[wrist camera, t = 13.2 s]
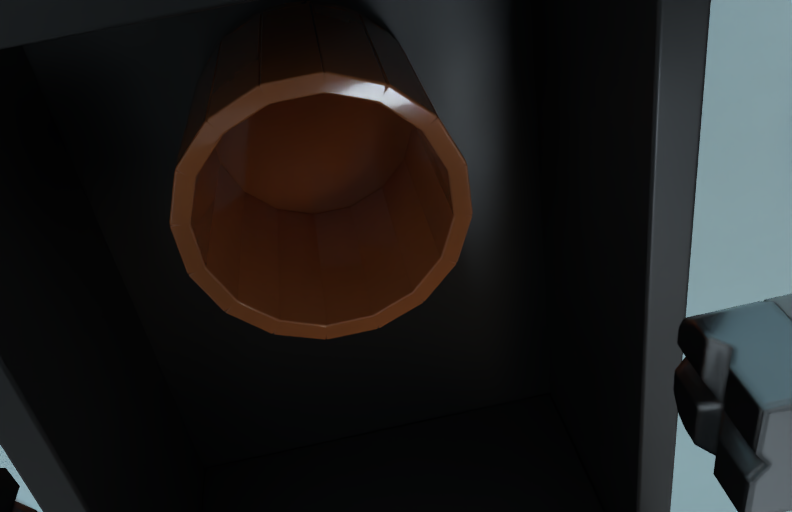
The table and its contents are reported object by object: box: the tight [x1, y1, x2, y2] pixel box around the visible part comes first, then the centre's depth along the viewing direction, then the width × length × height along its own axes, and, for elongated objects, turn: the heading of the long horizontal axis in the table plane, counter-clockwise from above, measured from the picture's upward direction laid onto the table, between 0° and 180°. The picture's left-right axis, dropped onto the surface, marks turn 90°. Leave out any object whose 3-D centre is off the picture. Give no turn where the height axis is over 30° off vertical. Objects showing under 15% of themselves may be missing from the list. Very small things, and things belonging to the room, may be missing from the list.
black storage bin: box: [0, 0, 711, 512], centre depth 18 cm, size 18×14×8 cm
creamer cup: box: [169, 1, 473, 340], centre depth 17 cm, size 6×6×6 cm
